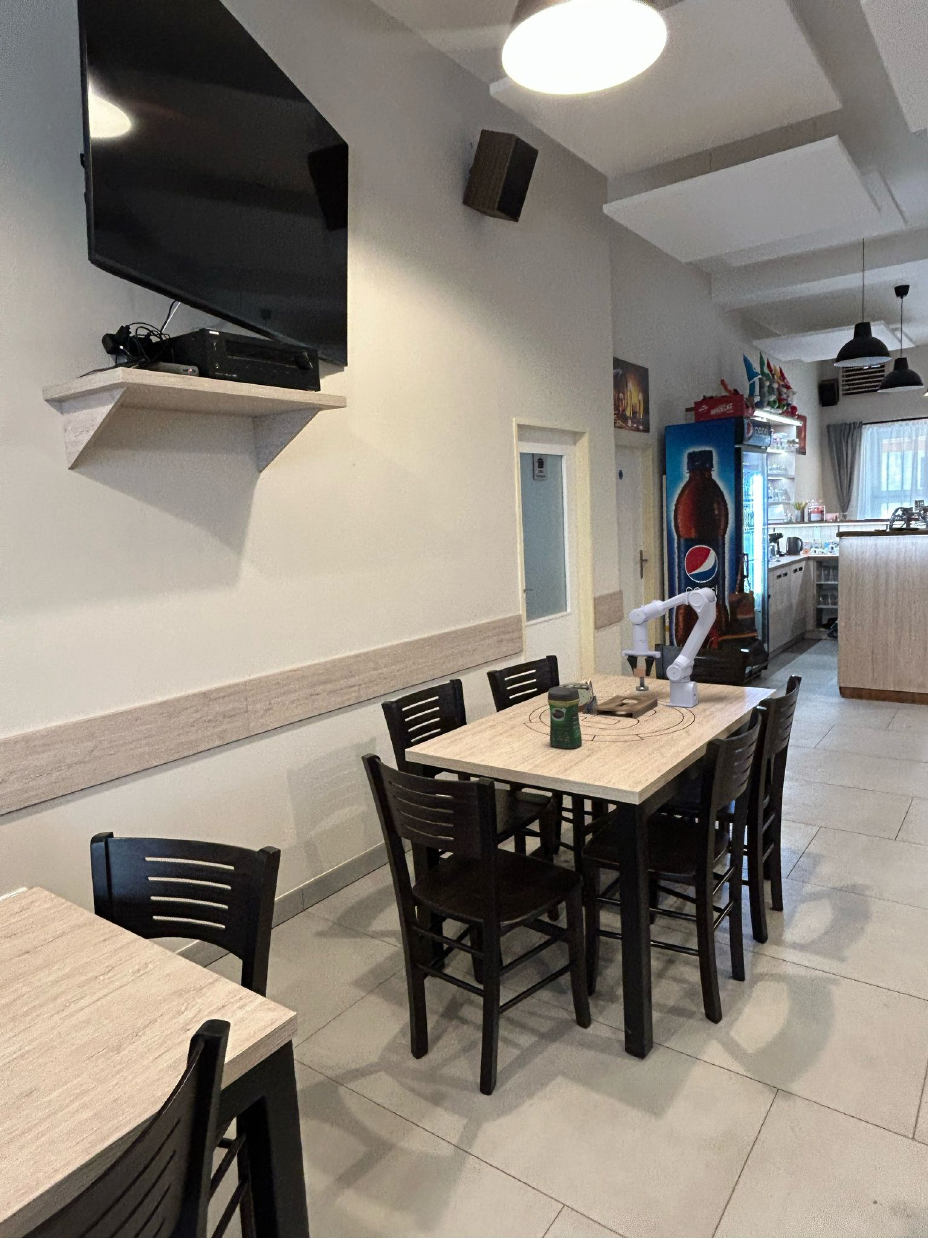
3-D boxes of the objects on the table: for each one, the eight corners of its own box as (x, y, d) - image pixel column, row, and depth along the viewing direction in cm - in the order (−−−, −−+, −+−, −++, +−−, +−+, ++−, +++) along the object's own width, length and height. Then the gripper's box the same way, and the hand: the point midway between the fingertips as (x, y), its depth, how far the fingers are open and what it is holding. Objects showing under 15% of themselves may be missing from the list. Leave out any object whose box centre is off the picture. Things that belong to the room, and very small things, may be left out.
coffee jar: (586, 744, 247) (583, 685, 245) (572, 751, 241) (570, 691, 239) (559, 740, 253) (556, 683, 251) (546, 747, 247) (543, 688, 245)
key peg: (650, 689, 301) (650, 667, 300) (645, 691, 297) (645, 669, 296) (638, 688, 303) (638, 666, 302) (633, 690, 299) (633, 668, 298)
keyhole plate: (657, 705, 291) (657, 698, 291) (636, 718, 275) (635, 710, 274) (617, 702, 301) (616, 695, 300) (593, 714, 284) (593, 707, 284)
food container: (591, 708, 294) (590, 681, 293) (592, 712, 288) (591, 685, 287) (557, 709, 295) (556, 683, 294) (558, 713, 289) (556, 686, 288)
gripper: (663, 639, 297) (664, 674, 298) (626, 637, 305) (628, 672, 307) (656, 641, 291) (657, 678, 293) (619, 640, 299) (620, 676, 301)
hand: (641, 675), depth 299 cm, fingers closed on key peg, 5 cm apart
